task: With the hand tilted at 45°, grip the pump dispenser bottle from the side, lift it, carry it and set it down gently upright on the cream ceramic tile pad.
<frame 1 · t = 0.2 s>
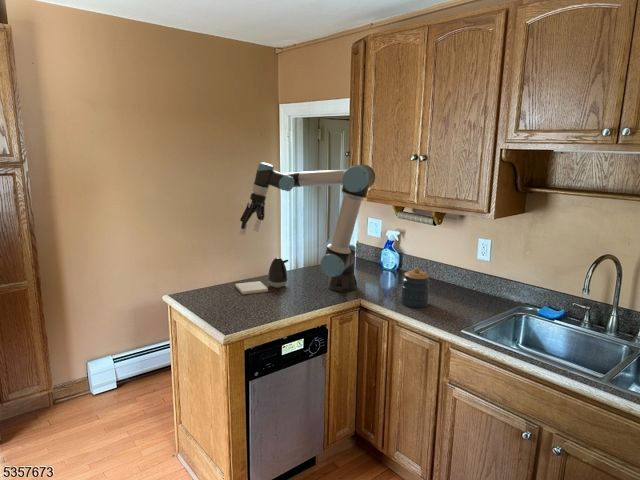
hand: (249, 232, 228), 27 cm above the worktop, tool pointing down, fingers open, 13 cm apart
tile pad: (251, 289, 223), on the worktop
canister: (414, 303, 211), on the worktop
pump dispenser: (277, 286, 229), on the worktop
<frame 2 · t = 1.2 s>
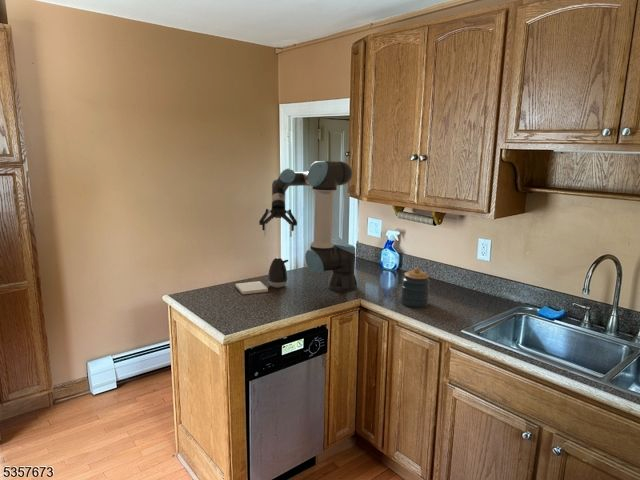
hand: (278, 235, 235), 25 cm above the worktop, tool tilted 45°, fingers open, 13 cm apart
nothing on the worktop moved.
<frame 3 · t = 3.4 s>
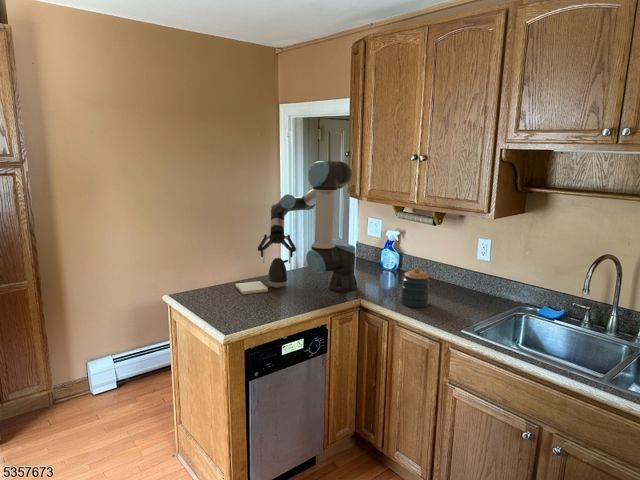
hand: (276, 262, 232), 12 cm above the worktop, tool tilted 45°, fingers open, 13 cm apart
nothing on the worktop moved.
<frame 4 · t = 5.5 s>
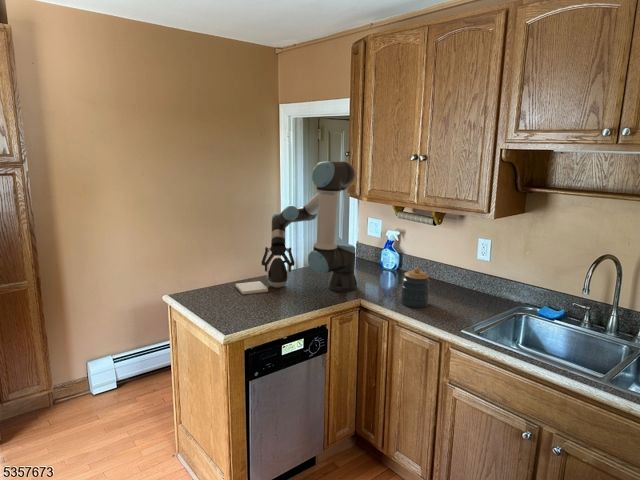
hand: (277, 276, 225), 6 cm above the worktop, tool tilted 45°, fingers closed on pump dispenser, 10 cm apart
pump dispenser: (277, 286, 229), on the worktop, touching gripper
everything else where it was.
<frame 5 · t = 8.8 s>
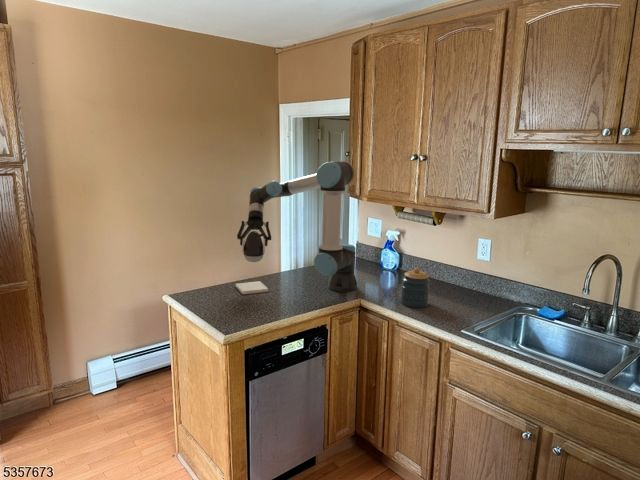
hand: (253, 250, 217), 20 cm above the worktop, tool tilted 45°, fingers closed on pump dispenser, 10 cm apart
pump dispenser: (253, 261, 222), point 14 cm above the worktop, touching gripper
everything else where it was.
when the fingers open (9 cm above the worktop, at t = 12.2 s): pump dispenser drops 1 cm, resting on tile pad.
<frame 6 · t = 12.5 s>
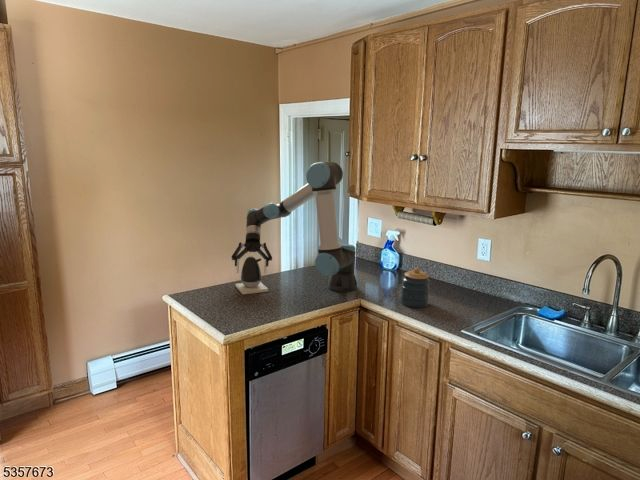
hand: (251, 271, 219), 10 cm above the worktop, tool tilted 45°, fingers open, 13 cm apart
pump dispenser: (251, 286, 223), point 1 cm above the worktop, touching tile pad
everything else where it was.
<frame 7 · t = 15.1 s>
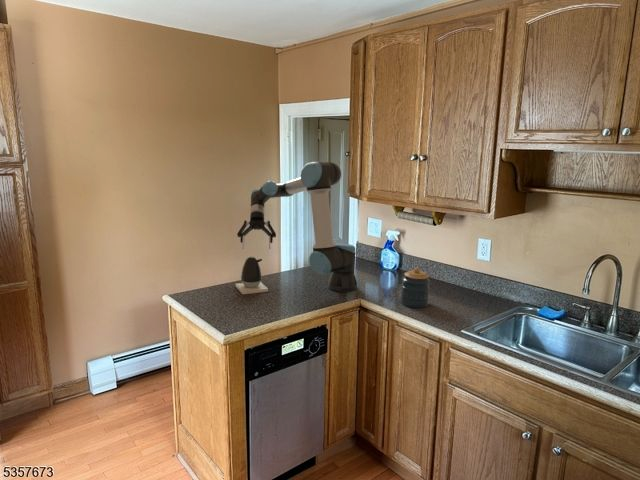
hand: (256, 247, 231), 19 cm above the worktop, tool tilted 45°, fingers open, 13 cm apart
nothing on the worktop moved.
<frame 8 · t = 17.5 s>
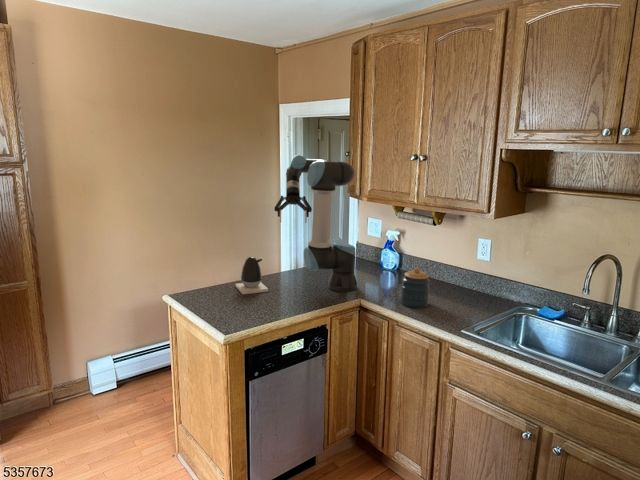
hand: (293, 221, 237), 32 cm above the worktop, tool tilted 45°, fingers open, 13 cm apart
nothing on the worktop moved.
at the end: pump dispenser inside the target area on the tile pad (0.1 cm from its centre), point 1.3 cm above the tile pad's base; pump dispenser tilted 0°; the gripper is holding nothing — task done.
